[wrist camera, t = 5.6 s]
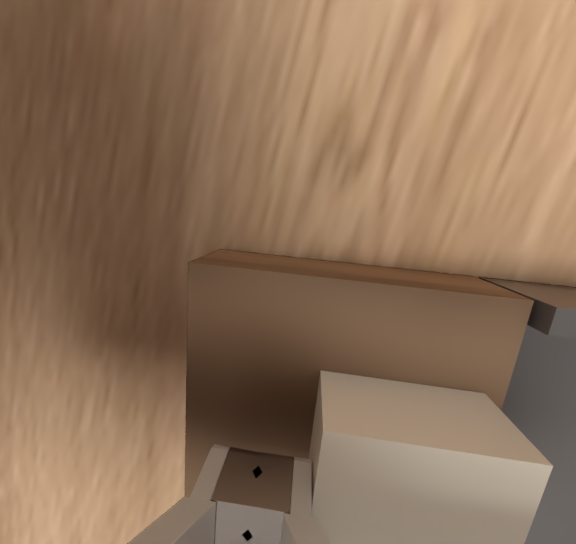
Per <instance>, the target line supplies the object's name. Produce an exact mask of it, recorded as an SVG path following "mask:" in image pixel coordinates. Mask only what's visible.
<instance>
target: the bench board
mask: <svg viewBox="0 0 576 544" xmlns="http://www.w3.org/2000/svg"><path fill="white" fill-rule="evenodd" d="M533 303H534V300H531V299H529V298H526V297H524V296H521V295H519V294H516V293H514V292H511V291H509V290H506V289H504V288H501V287H499V286H496V285H494V284H492V283H489V282H487V281H484V280H482V279H479V278H477V277H474V276H465V275H456V274H446V273H437V272H428V271H418V270H409V269H399V268H390V267H381V266H371V265H362V264H352V263H343V262H333V261H324V260H315V259H305V258H296V257H286V256H277V255H268V254H258V253H249V252H239V251H230V250H218V251H215V252H213V253H210V254H208V255H205V256H203V257H201V258H198V259H196V260H193V261H191V262H188V308H187V376H186V444H185V497H190V496H191V493H192V491H193V489H194V486H195V484H196V482H197V479H198V477H199V475H200V472H201V470H202V468H203V466H204V463H205V461H206V459H207V456H208V454H209V452H210V449H211V448H212V446H213V445H214V444H216V445H222V446H227V447H234V448H240V449H245V450H251V451H256V452H264V453H271V454H278V455H285V456H292V457H298V458H305V459H308V458H309V451H310V444H311V436H312V429H313V422H314V415H315V407H316V400H317V393H318V385H319V378H320V371H328V372H336V373H343V374H350V375H357V376H365V377H372V378H379V379H386V380H393V381H401V382H408V383H415V384H422V385H429V386H437V387H444V388H451V389H458V390H465V391H473V392H480V393H485V394H486V395H487V396H488V397H489V398H490V399H491V400H492V401H493V402H494V404H495V405H496V406H497V407H498V408H499V409H500V410H501V409H502V406H503V403H504V400H505V396H506V393H507V390H508V386H509V383H510V380H511V376H512V373H513V370H514V366H515V363H516V360H517V356H518V353H519V350H520V346H521V343H522V340H523V336H524V333H525V330H526V326H527V323H528V320H529V316H530V313H531V310H532V306H533Z"/></svg>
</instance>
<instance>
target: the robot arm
mask: <svg viewBox="0 0 576 544" xmlns="http://www.w3.org/2000/svg"><path fill="white" fill-rule="evenodd" d="M127 544H331V543H330V542H329V540H328V538H327V536H326V534H325V532H324V531H323V529H322V527H321V525H320V523H319V521H318V520H317V519H315V518H312V462H311V459H305V458H298V457H292V456H285V455H278V454H271V453H264V452H256V451H251V450H245V449H240V448H234V447H227V446H222V445H216V444H214V445H213V446H212V448H211V449H210V452H209V454H208V456H207V459H206V461H205V463H204V466H203V468H202V470H201V472H200V475H199V477H198V479H197V482H196V484H195V486H194V489H193V491H192V493H191V496H190V497H183V498H182V499H181V500H180V501H178V502H177V503H176V504H175V505H174V506H172V507H171V508H170V509H169V510H167V511H166V512H165V513H164V514H163V515H161V516H160V517H159V518H158V519H157V520H155V521H154V522H153V523H152V524H150V525H149V526H148V527H147V528H146V529H144V530H143V531H142V532H141V533H139V534H138V535H137V536H136V537H135V538H133V539H132V540H131V541H130V542H129V543H127Z"/></svg>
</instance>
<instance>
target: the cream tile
mask: <svg viewBox="0 0 576 544" xmlns="http://www.w3.org/2000/svg"><path fill="white" fill-rule="evenodd" d="M308 459H311V462H312V518H315V519H317V520H318V521H319V523H320V525H321V527H322V529H323V531H324V532H325V534H326V536H327V538H328V540H329V542H330V543H331V544H524V543H525V541H526V538H527V535H528V533H529V530H530V527H531V524H532V522H533V519H534V516H535V514H536V511H537V508H538V506H539V503H540V500H541V498H542V495H543V492H544V490H545V487H546V484H547V482H548V479H549V476H550V474H551V471H552V468H553V465H552V464H551V463H550V462H549V461H548V460H547V459H546V458H545V457H544V456H543V455H542V454H541V452H540V451H539V450H538V449H537V448H536V447H535V446H534V445H533V444H532V443H531V442H530V441H529V440H528V439H527V438H526V437H525V435H524V434H523V433H522V432H521V431H520V430H519V429H518V428H517V427H516V426H515V425H514V424H513V423H512V422H511V421H510V420H509V418H508V417H507V416H506V415H505V414H504V413H503V412H502V411H501V410H500V409H499V408H498V407H497V406H496V405H495V404H494V402H493V401H492V400H491V399H490V398H489V397H488V396H487V395H486V394H485V393H480V392H473V391H465V390H458V389H451V388H444V387H437V386H429V385H422V384H415V383H408V382H401V381H393V380H386V379H379V378H372V377H365V376H357V375H350V374H343V373H336V372H328V371H320V378H319V385H318V393H317V400H316V407H315V415H314V422H313V429H312V436H311V444H310V451H309V458H308Z"/></svg>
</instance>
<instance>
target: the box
mask: <svg viewBox="0 0 576 544" xmlns="http://www.w3.org/2000/svg"><path fill="white" fill-rule="evenodd" d="M479 279H482V280H484V281H487V282H489V283H492V284H494V285H496V286H499V287H501V288H504V289H506V290H509V291H511V292H514V293H516V294H519V295H521V296H524V297H526V298H529V299H531V300H534V303H533V306H532V310H531V313H530V316H529V320H528V323H527V326H526V330H525V333H524V336H523V340H522V343H521V346H520V350H519V353H518V356H517V360H516V363H515V366H514V370H513V373H512V376H511V380H510V383H509V386H508V390H507V393H506V396H505V400H504V403H503V406H502V409H501V411H502V412H503V413H504V414H505V415H506V416H507V417H508V418H509V420H510V421H511V422H512V423H513V424H514V425H515V426H516V427H517V428H518V429H519V430H520V431H521V432H522V433H523V434H524V435H525V437H526V438H527V439H528V440H529V441H530V442H531V443H532V444H533V445H534V446H535V447H536V448H537V449H538V450H539V451H540V452H541V454H542V455H543V456H544V457H545V458H546V459H547V460H548V461H549V462H550V463H551V464H552V465H553V468H552V471H551V474H550V476H549V479H548V482H547V484H546V487H545V490H544V492H543V495H542V498H541V500H540V503H539V506H538V508H537V511H536V514H535V516H534V519H533V522H532V524H531V527H530V530H529V533H528V535H527V538H526V541H525V543H524V544H576V287H569V286H559V285H550V284H541V283H531V282H522V281H512V280H503V279H494V278H484V277H479Z"/></svg>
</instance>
